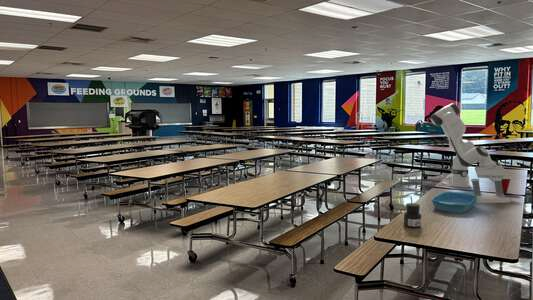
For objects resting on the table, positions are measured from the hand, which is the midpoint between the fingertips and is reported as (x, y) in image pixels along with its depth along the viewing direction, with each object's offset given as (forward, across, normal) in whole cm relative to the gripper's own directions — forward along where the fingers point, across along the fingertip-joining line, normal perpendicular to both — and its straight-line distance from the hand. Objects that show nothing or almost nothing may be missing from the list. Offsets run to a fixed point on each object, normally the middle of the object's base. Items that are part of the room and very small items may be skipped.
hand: (495, 182), depth 267 cm
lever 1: (+9, -16, +1) cm, 18 cm away
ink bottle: (+52, -84, -34) cm, 104 cm away
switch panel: (+12, -8, +4) cm, 15 cm away
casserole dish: (+25, -41, -8) cm, 49 cm away
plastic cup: (-4, +17, +21) cm, 28 cm away
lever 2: (+9, 0, +1) cm, 9 cm away
